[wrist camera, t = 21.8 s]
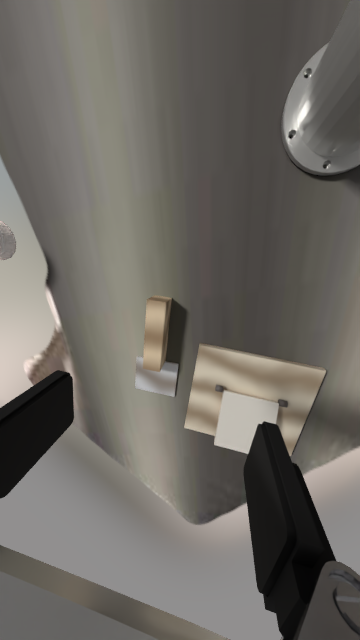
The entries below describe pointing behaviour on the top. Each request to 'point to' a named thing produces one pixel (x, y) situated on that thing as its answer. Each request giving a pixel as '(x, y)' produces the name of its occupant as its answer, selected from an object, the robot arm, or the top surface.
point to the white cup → (6, 242)
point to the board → (252, 388)
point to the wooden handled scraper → (156, 350)
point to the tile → (242, 419)
